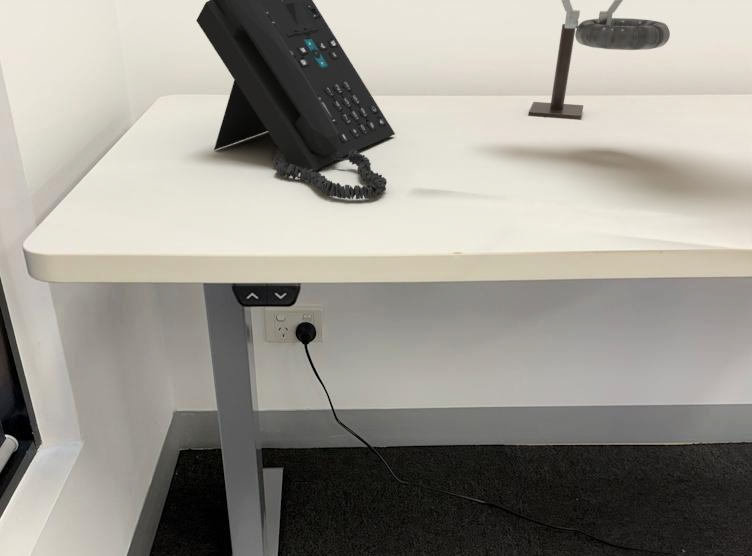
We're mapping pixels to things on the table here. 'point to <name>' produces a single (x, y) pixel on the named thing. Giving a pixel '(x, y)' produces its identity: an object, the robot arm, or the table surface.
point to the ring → (623, 34)
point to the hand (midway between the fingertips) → (587, 28)
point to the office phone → (294, 90)
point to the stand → (560, 84)
